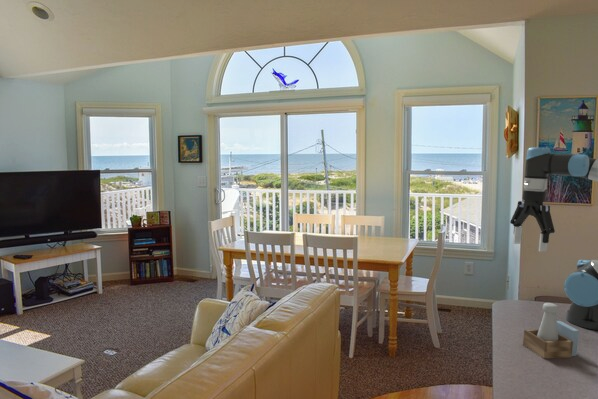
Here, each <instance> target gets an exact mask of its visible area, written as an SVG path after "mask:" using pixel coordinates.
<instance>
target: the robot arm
mask: <svg viewBox="0 0 598 399" xmlns="http://www.w3.org/2000/svg"><path fill="white" fill-rule="evenodd" d="M524 166H525V168H524V169H525V170H524V180H523V191H522V197H521V198H522V200H523V201H522V200H519V201H518V202H517V204H516V205H517V206H516V208H515V210H514V212H513V215H512V217H511V220H510V221H509V222H510V223H509V224H512V225H513V241H512V244H514V245H520V244H522V234H523V224H524V222H525V221H526V219H527V218H528V217H529V216H532V217H533V218H535V219H536V222H537V224H538V227H539V229H540V231H541V232H540V234H539V241H538V252H540V253H544V252H545V253H546V252H547V251H548V244H549V240H550V234H554V233H555V232H556V230H555V227H554V223H553V219H552V214H551V206H550V205H544V202H546V198H547V192H546V190H548V177H549V175H550V176H553V175H556V176H565V177H566V176H568V177H569V176H571V177H579V178H582V179H583V178H584V179H586V180H591V181H594V182H596V183H598V159H596V158H593V157H589V156H588V155H587V154H580V153H552V152H551V149H550V148H549V147H535V146H533V147H528V149H527V150H526V157H525V165H524ZM563 286H564V287H563V288H564V289H563V290H564V292H565V294H566V296H567V298H568V299H569V300H570V302H571V303H570V305H569V307H568V310H567V311H566V313H565V314H566V315H565V319H566V320H567V321H568V323H570V324H573V325H576V326H579V327H582V328H585V329H589V330H596V331H598V259H591V260H589V259H579V260H578V261H577V263H576V271H574V272H573V273H570V274H569V275H568V276H567V277H566V279H565V281H564V285H563Z"/></svg>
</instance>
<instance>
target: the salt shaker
mask: <svg viewBox="0 0 598 399" xmlns="http://www.w3.org/2000/svg"><path fill="white" fill-rule="evenodd" d="M559 307H560V306H558V305H557V304H555V303H552V302H544V303H543V304H542V311H543V312H544V313H543V316H542V318H541V323H540V326H539V328H538V329H539V331H538V334H537V336H538V337H539V338H541V339H543V340H544V341H558V329H557V321H558V320H557V314H558V313H559V311H560V308H559Z"/></svg>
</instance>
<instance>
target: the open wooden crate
mask: <svg viewBox="0 0 598 399" xmlns="http://www.w3.org/2000/svg"><path fill="white" fill-rule="evenodd" d="M538 331H539V328H538V329H524V330H523V342H522V345H523V347H525V346H526V348H527V347H528V348H529V350H530V349H531V350H532V351H531V350H530V351H531V352H533V351H534V352H535V354H536V355H537V354H538V355H537V356H539V357H540V356H541V357H540V358H542V359H561V358H562V359H563V358H572V357H573V356H572V348H573V341H572V340H570V339H568V338H566V337H564V336H562V335H561V334H559V333H558V341H544V340H543V339H541V338H539V337H538V336H537V334H538ZM528 348H527V349H528ZM534 352H533V353H534Z"/></svg>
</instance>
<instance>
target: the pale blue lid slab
mask: <svg viewBox="0 0 598 399" xmlns="http://www.w3.org/2000/svg"><path fill="white" fill-rule="evenodd" d="M557 329H558V333H559V334H561V335H562V336H564V337H566V338H568V339H570V340H572V341H573V348H572V357H576V356H577V355H578V354H577V353H578V346H579V335H580V330H579V329H577V328H575V327H573V326H571V325H569V324H567V323H565V322H563V321H561V320H557Z"/></svg>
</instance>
